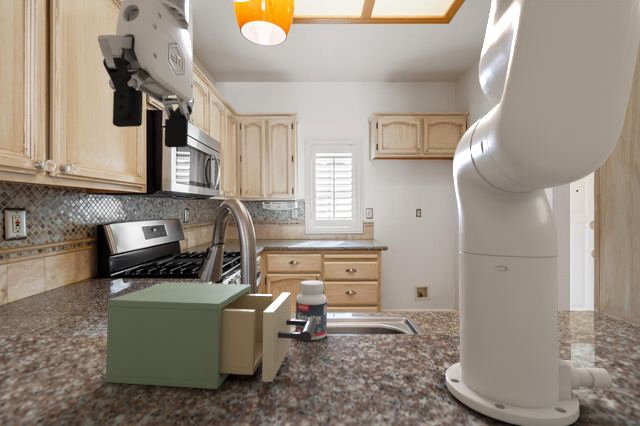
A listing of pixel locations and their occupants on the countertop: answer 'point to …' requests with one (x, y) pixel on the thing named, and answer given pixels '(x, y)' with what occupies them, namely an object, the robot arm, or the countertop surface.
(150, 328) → the cabinet
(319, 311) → the pill bottle
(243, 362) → the drawer
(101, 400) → the countertop surface
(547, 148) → the robot arm
